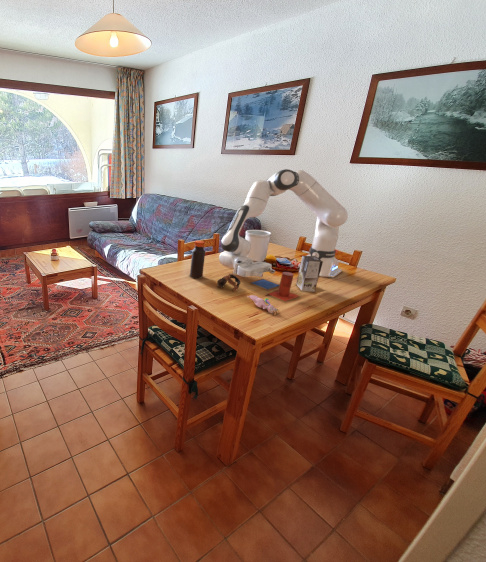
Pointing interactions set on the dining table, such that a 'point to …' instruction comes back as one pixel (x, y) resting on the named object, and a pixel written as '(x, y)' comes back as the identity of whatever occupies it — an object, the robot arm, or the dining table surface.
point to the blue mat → (265, 284)
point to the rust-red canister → (285, 284)
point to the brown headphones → (229, 281)
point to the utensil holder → (258, 244)
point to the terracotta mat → (283, 297)
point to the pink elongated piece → (263, 304)
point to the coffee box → (309, 273)
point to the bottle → (197, 260)
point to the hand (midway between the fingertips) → (268, 273)
